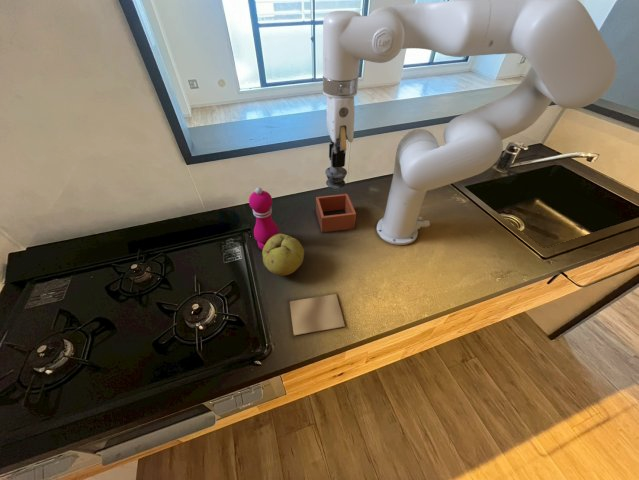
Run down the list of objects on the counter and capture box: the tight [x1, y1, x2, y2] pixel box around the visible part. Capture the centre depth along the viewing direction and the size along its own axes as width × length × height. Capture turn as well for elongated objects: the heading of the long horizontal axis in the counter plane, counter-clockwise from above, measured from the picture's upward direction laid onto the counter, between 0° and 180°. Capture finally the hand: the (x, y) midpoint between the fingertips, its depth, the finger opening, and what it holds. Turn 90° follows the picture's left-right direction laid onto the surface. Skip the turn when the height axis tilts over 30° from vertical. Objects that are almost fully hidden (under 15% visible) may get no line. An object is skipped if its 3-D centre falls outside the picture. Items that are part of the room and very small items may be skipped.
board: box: [289, 293, 346, 337], centre depth 67 cm, size 12×9×1 cm
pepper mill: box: [248, 186, 280, 251], centre depth 77 cm, size 7×7×20 cm
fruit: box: [261, 233, 305, 277], centre depth 74 cm, size 11×12×10 cm
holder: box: [315, 193, 357, 233], centre depth 90 cm, size 11×11×6 cm
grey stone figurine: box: [324, 144, 348, 190], centre depth 73 cm, size 6×6×12 cm
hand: (336, 161), depth 73 cm, fingers closed on grey stone figurine, 3 cm apart
